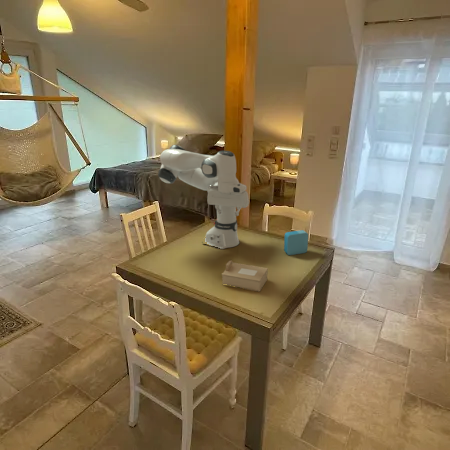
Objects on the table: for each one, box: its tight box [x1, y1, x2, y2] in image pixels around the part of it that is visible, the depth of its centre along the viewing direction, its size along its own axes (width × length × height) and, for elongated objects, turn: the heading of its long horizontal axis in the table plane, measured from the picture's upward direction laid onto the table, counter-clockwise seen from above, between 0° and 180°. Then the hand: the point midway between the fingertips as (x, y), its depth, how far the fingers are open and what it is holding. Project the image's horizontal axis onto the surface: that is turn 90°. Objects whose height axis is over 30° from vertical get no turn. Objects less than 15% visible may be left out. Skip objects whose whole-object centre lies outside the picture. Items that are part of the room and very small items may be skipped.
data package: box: [283, 229, 309, 256], centre depth 192 cm, size 12×4×12 cm, turn 105°
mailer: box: [221, 270, 268, 293], centre depth 164 cm, size 18×12×5 cm, turn 67°
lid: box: [221, 260, 269, 282], centre depth 163 cm, size 18×13×4 cm
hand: (228, 214), depth 168 cm, fingers open, 8 cm apart
